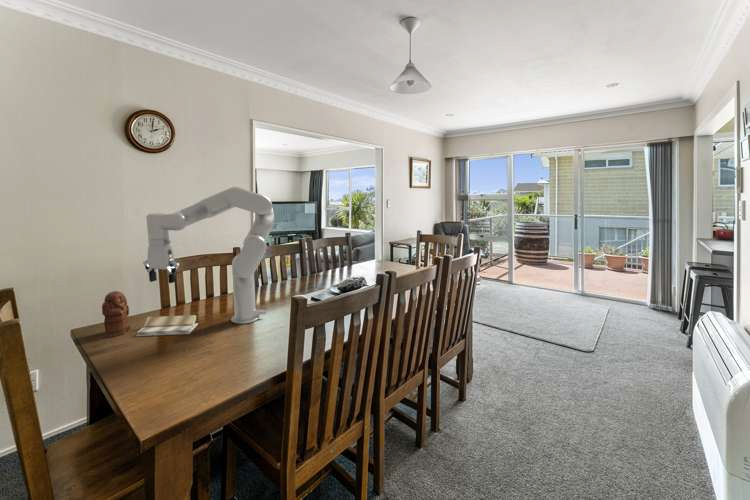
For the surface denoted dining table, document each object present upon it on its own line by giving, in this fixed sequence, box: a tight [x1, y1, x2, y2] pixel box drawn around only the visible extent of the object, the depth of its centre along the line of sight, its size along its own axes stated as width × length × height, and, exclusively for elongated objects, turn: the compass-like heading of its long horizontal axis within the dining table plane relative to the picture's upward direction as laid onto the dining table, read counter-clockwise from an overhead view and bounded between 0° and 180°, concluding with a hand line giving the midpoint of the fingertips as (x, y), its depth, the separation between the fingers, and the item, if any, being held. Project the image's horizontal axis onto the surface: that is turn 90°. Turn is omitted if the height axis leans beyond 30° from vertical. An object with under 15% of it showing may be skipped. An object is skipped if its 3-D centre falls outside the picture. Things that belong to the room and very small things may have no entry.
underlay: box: [135, 322, 199, 337], centre depth 158 cm, size 21×12×1 cm, turn 99°
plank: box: [143, 314, 197, 327], centre depth 161 cm, size 20×6×1 cm
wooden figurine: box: [101, 290, 131, 338], centre depth 154 cm, size 12×6×18 cm, turn 11°
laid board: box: [136, 325, 193, 336], centre depth 155 cm, size 20×6×1 cm, turn 99°
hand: (162, 281), depth 156 cm, fingers open, 9 cm apart
